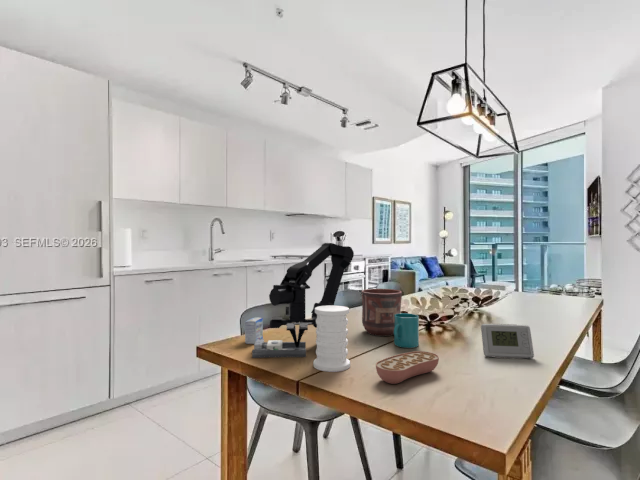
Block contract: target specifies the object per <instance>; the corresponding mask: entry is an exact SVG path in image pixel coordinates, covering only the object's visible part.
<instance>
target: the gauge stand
mask: <svg viewBox="0 0 640 480" xmlns="http://www.w3.org/2000/svg"><path fill="white" fill-rule="evenodd" d="M264 339H265V338H263V339H257V340H256V342H255V344H253V349H252V350H251V352H252V353H251V354H252V355H251V358H252V359H255V358H258V359H260V358H307V348H306V347H307V346H306V345H307V344H306V343H307V342H306V341H300V343H299V346H298V347H296V346H295V343H294V341H282V349H263V344H267V343H268V341H265V340H264Z"/></svg>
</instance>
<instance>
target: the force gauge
mask: <svg viewBox="0 0 640 480" xmlns="http://www.w3.org/2000/svg"><path fill="white" fill-rule="evenodd" d="M267 342H268V343H267V344H263V349H282V342H283V339H280V340H279V339H278V340H277V339H275V340H273V339H272V340H270V339H268V341H267Z"/></svg>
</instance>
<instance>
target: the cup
mask: <svg viewBox="0 0 640 480" xmlns="http://www.w3.org/2000/svg"><path fill="white" fill-rule="evenodd" d="M419 320H420V317H419V315H418V314H415V313H407V312H404V313H403V312H401V313H399V314H395V315H394V335H393V338H394V339H393V340H394V341H393V343H394V345H395V346H397V347H399V348H403V349H404V348H405V349H413V348H417V347H418V346H419V345H420V343H419V342H420V336H419V335H420V330H419V329H420V328H419V327H420V326H419V323H420V321H419Z"/></svg>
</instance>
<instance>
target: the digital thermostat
mask: <svg viewBox="0 0 640 480" xmlns="http://www.w3.org/2000/svg"><path fill="white" fill-rule="evenodd" d="M480 330H481V339H482V340H481V342H482V351H483V356H485V357H487V358H491V357H492V358H495V359H513V358H517V359H519V360H523V359H533V358H534V357H535V353H534V346H533V339H532V332H531V328H530V325H527V324H513V323H511V324H509V323H482V324H481V325H480Z"/></svg>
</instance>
